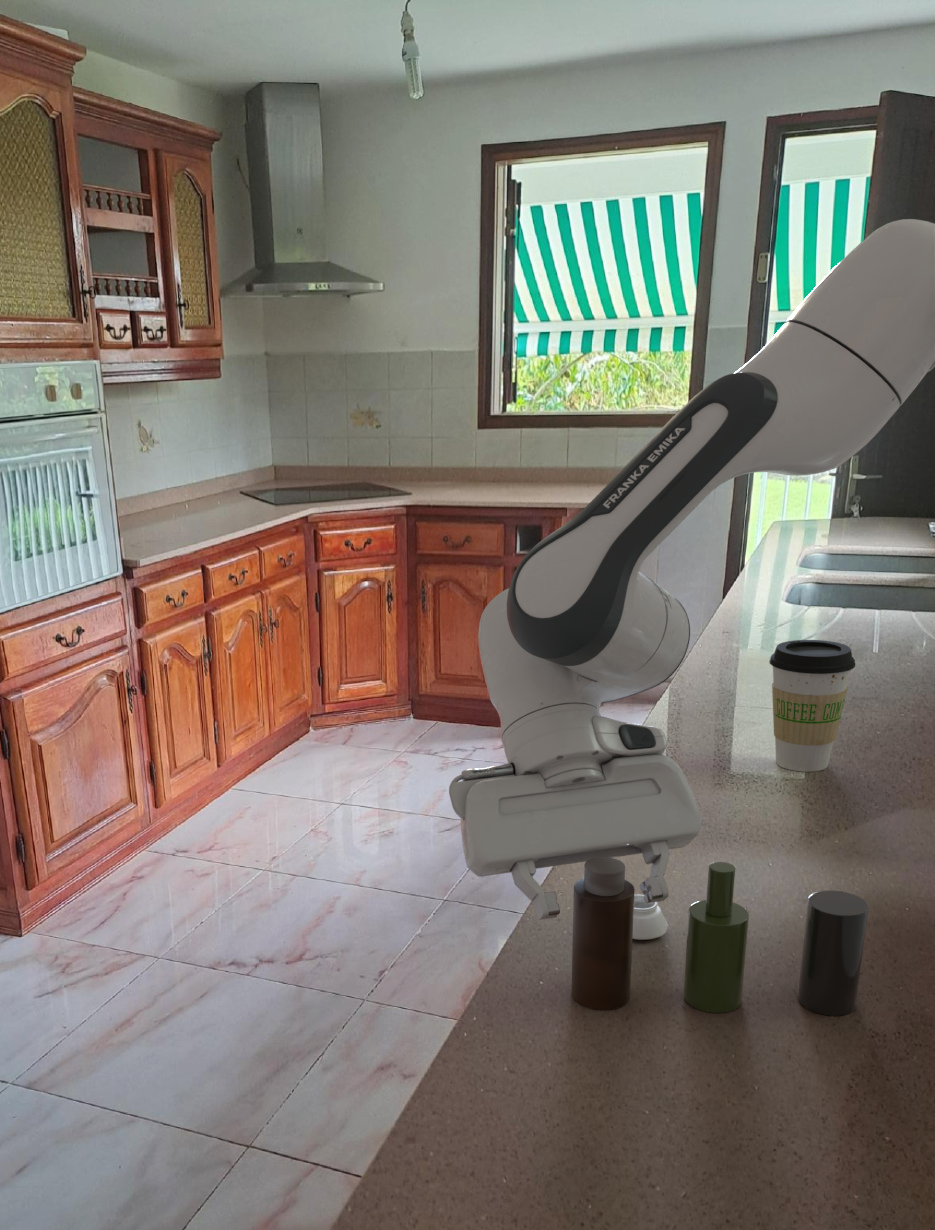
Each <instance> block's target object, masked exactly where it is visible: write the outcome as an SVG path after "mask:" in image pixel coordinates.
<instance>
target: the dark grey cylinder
mask: <svg viewBox="0 0 935 1230" xmlns="http://www.w3.org/2000/svg"><path fill="white" fill-rule="evenodd" d="M869 909H870V908H869V904H868V902H867V901H866V900H865V899H863V898H862V897H860V896H858V895H856V894H853V893H850V892H846V891H841V890H820V891H816V892H813V893H812V894H810V895H809V896H808V898H807V905H806V913H805V914H806V915H805V924H804V933H803V942H802V952H801V960H800V961H801V962H800V970H799V971H800V972H799V981H798V988H797V989H798V990H797V1000H798V1003H799V1004H800V1005H802V1007H804V1008H805V1009H806V1010H808V1011H810V1012H813V1013H816V1014H818V1015H824V1016H829V1017H831V1016H832V1017H837V1016H838V1017H840V1016H845V1015H849V1014H852V1013H853V1012H854V1011H855V1009H856V1007H857V1003H858V993H859V985H860V978H861V969H862V963H863V962H862V961H863V955H864V947H865V939H866V933H867V932H866V931H867V923H868V915H869Z"/></svg>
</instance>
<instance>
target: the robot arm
mask: <svg viewBox="0 0 935 1230" xmlns="http://www.w3.org/2000/svg"><path fill="white" fill-rule="evenodd" d="M773 335H774V336H773V337H771V339H770V340H769V341H768V342H767V343H766V344H765V346H763V347H762V349H760V351H758V353H756V354H755V355H754V356H753V357H752V358H751V359H749V361H747V362H746V363H745V364H744V365H743V366H742V367H740V368H739V369H738V370H736V371H735V372H733V373H729V374H726V375H724V376H721V377H718V378H717V379H715V380H714V381H712V382H711V383H710V384H708V385H707V386H705V387H704V388H703V389H702V390H700V391H699V392H697V394H696V395H694V396H693V397H692V398H691V399H690V400H689V401H688V402H686V404H684V406H682V407H681V409H679V410H678V412H676V413H675V414H674V415H673V416H672V417H671V418H670V419H669V420H668V421H667V422H666V423H665V425H663V427H662V428H660V430H659V431H658V432H657V433H656V434H655V435H654V436H653V437H651V439H650V440H649V441H647V443H645V445H644V446H643V447H642V448H641V449H640V450H639V451H638V452H637V453H636V454H635V455H634V456H633V457H632V458H631V459H630V461H629V462H628V463H627V464H626V465H625V466H624V467H623V468H622V469H621V470H620V471H619V472H618V473H617V474H616V475H615V476H614V477H613V478H612V479H610V481H609V483H607V484H606V486H605V487H603V489H602V490H600V492H598V493H597V495H596V496H595V497H594V498H593V499H592V500H591V501H590V502H589V503H588V504H587V505H586V506H585V507H584V508H583V509H582V510H580V512H578V513H577V514H576V515H575V516H574V517H573V518H571V519H570V520H568V521H567V522H566V523H565V524H563V525H561V526H560V527H559V528H557V529H556V530H554V531H553V532H551V533H550V534H548V535H547V536H546V537H544V538H543V539H542V540H541V541H539V542H538V543H537V544H535V546H534V547H532V548H531V549H530V550H529V551H528V552H527V553H526V555H524V556H523V558H522V559H521V560H520V562H519V564H518V565H517V567H516V569H515V571H514V573H513V575H512V577H511V580H510V583H509V587H507V588H506V589H505V590H502V591H501V592H500V593H498V594H497V595H496V596H495V597H493V598H492V599H491V600H490V601H489V602H488V604H487V605H486V606H485V608H484V609H483V611H482V613H481V616H480V619H479V623H478V632H477V643H478V650H479V652H478V653H479V658H480V663H481V669H482V674H483V677H484V681H485V685H486V689H487V694H488V696H489V700H490V702H491V704H492V705H493V707H494V708H495V710H496V711H497V714H498V716H499V720H500V733H499V734H500V740H501V743H502V748H503V751H504V754H505V758H506V762H507V763H505V764H497V765H492V766H487V767H483V768H476V767H475V768H474V767H473V768H468V769H464V770H462V771H461V774H459V775H457V776H455V777H454V778H453V779H452V780H451V782H450V784H449V787H448V794H449V799H450V802H451V803H450V804H451V807H452V809H453V811H454V813H455V814H456V816H457V817H459V819H460V833H461V842H462V844H461V845H462V850H463V851H462V852H463V856H464V861H465V865H466V868H467V869H468V870H469V871H471V873H473V874H474V875H475V876H477V877H479V878H483V877H488V876H495V875H502V874H509V873H511V877H512V880H513V884H514V885H515V887H517V888H518V890H519V891H520V892H522V893H523V895H524V896H526V897H527V898H528V900H529V901H531V902H532V904H533V907H534V911H535V916H536V917H537V920H539V921H540V920H541V921H542V920H549V919H554V918H557V917H558V916H559V915H560V913H561V908H560V904H559V902H557V901H558V896H557V893H556V891H549V892H546V891H545V889H544V887H542V886H541V885H540V883H538V881H537V880H536V879H535V878H534V875H535V874H536V873H537V869H544V868H550V867H551V868H552V867H558V866H565V865H573V864H578V863H586V861H588V860H590V859H593V858H598V857H608V858H614V859H615V858H620V857H627V856H635V855H642V858H643V860H644V863H645V864H646V865H651V869H650V873H649V877H646V878H645V879H644V880H643V882H641V883H640V884H639V888H640V891H641V893H642V895H644V900H645V902H646V903H652V902H657V903H659V902H664V901H665V900H666V899H667V898H668V897H669V888H668V886H667V882H666V880H665V875H666V871H667V867H668V864H669V859H670V855H671V853H670V850H675V849H682V848H685V847H687V846H688V845H689V844H690V843H691V842H692V841H694V840H695V838H696V837H697V836H698V835H699V833H700V831H701V828H702V825H703V818H702V817H703V816H702V814H701V810H700V807H699V805H698V803H697V800H696V797H695V795H694V792H693V790H692V787H691V785H690V783H689V781H688V780H687V777H686V775H685V773H684V771H683V769H682V768H681V767H680V765H679V764H678V763H677V762H676V761H675V760H674V759H673V758H672V757H669V756H668V755H664V752H665V751H666V750H667V747H668V740H667V736H666V734H665V733H664V731H663V730H662V729H661V728H658V727H656V726H651V725H643V724H639V723H632V722H627V721H622V720H618V719H613V718H610V717H607V716H602V715H601V711H600V705H601V704H604V703H605V704H606V703H612V702H615V701H619V700H622V699H626V698H629V697H632V696H635V695H638V694H641V693H643V692H647V691H649V690H652V689H653V688H656V687H658V686H660V685H661V684H663V683H665V682H666V681H667V680H668V679H669V678H670V677H672V676H673V675H674V673H676V672H677V670H678V668H679V667H680V666H681V664H682V662H683V660H684V659H685V657H686V654H687V652H688V649H689V645H690V639H691V624H690V620H689V616H688V613H687V610H686V609H685V607H684V605H683V604H682V603H681V602H680V600H678V599H677V598H675V597H674V596H673V595H672V594H671V593H669V591H667V590H666V589H665V588H663V587H662V586H661V585H660V584H658V583H657V582H655V580H653V579H651V578H650V577H648V576H646V575H645V574H643V573H642V572H640V570H641V567H642V565H643V564H644V562H645V561H646V560H647V558H648V557H649V556H650V555H651V554H652V553H653V552H654V551H655V550H656V549H657V548H658V547H659V546H660V544H662V543H663V541H664V540H665V539H666V538H667V537H668V536H670V535H671V533H673V532H674V531H675V529H677V528H678V526H679V525H680V524H682V522H684V520H685V519H686V518H687V517H689V515H690V514H691V513H692V512H694V510H695V509H696V508H697V507H698V506H699V505H700V504H701V503H702V502H703V501H704V500H705V499H706V498H707V497H708V496H710V494H711V493H712V492H714V490H716V489H718V488H719V487H721V485H723V484H725V483H726V482H728V481H730V480H732V479H735V478H736V477H740V476H744V475H748V474H754V473H755V474H756V473H769V474H775V475H783V476H793V477H794V476H795V477H797V476H799V477H800V476H801V477H802V476H810V475H811V476H812V475H817V474H821V473H826V472H828V471H831V470H835V469H837V468H839V467H841V466H842V465H843V464H845V463H846V462H847V461H849V460H850V459H851V458H852V457H853V456H855V455H856V454H857V453H859V451H861V450H862V449H863V448H864V447H865V446H867V444H868V443H870V441H871V440H873V438H875V437H876V435H877V434H878V433H879V432H880V431H881V430H882V429H883V428H884V426H885V425H886V424H887V423H888V421H890V419H891V418H892V417H893V416H894V414H895V413H896V412H897V411H898V410H899V408H900V407H901V406H902V405H903V404H904V403H905V401H906V400H907V399H908V398H909V396H910V395H911V394H912V393H913V391H914V390H915V389H916V388H917V386H918V385H919V384H920V383H921V381H922V380H923V379H924V378H925V376H926V375H927V373H929V372H931V371H932V370H933V369H934V368H935V223H934V222H931V221H928V220H922V219H914V218H906V219H905V218H904V219H903V218H902V219H898V220H893V221H891V222H887V223H886V224H884V225H882V226H880V227H878V228H877V229H876V230H874V231H872V233H870V234H869V235H868V236H867V237H866V238H864V239H863V240H862V241H861V242H860V243H859V244H858V245H857V246H856V247H854V248H853V249H852V250H851V251H850V252H848V254H846V255H845V257H844V258H843V259H842V260H840V261H839V262H838V263H837V265H835V266H834V267H832V269H831V270H830V271H829V273H828V274H827V275H826V276H824V277H823V278H822V280H821V281H820V282H818V284H817V285H816V286H815V287H814V288H813V290H811V292H810V293H808V295H807V296H806V297H805V298H804V300H802V302H801V303H800V304H799V305H798V306H797V307H796V309H795V310H794V311H793V312H792V314H790V316H789V317H788V318H787V320H785V322H784V324H783V325H782V326H781V327H780V328H779V329H778V330H777V332H776V333H775V334H773Z"/></svg>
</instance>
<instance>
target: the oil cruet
mask: <svg viewBox="0 0 935 1230" xmlns="http://www.w3.org/2000/svg"><path fill="white" fill-rule="evenodd" d="M707 870H708V872H707V884H706V885H707V886H706V889H707V890H706V898H705V899H702V900H699V901H695V902H693V903H692V904H691V905H690V906H689V908H688V915H687V929H686V930H687V931H686V947H685V963H684V979H683V991H682V993H683V994H682V995H683V996H682V997H683V999H684V1001H685V1002H686V1003H687V1004H688V1005H689V1006H691V1007H693V1008H694V1009H697V1010H700V1011H702V1012H706V1013H712V1014H722V1013H723V1014H724V1013H730V1012H733V1011H735V1010H737V1009H738V1008H740V1007H741V1005H742V1000H743V989H744V979H745V978H744V976H745V968H746V967H745V966H746V954H747V942H748V931H749V920H750V914H749V911H748V910H747V909H746V908H745V907H744V906H742V905H740V904H738V903H737V902H733V901H734V893H735V892H734V889H735V878H736V867H735V865H733V864H731V863H729V862H724V861H715V862H711V863H710V864H709V865H708V869H707Z"/></svg>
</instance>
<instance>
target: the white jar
mask: <svg viewBox="0 0 935 1230" xmlns="http://www.w3.org/2000/svg"><path fill="white" fill-rule="evenodd" d="M658 903H659V902H652V903H646V902H645V900H644V894H634V914H633V937H632V940H639V941H641V940H642V941H643V940H653V939H657V938H660V937H662V936H663V935H664V934H666V933H667V931H668V927H669V923H668V922H667V920H666V918H665V915H664V914H663V911H662V908H661V907H660V906H659V905H658Z"/></svg>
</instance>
